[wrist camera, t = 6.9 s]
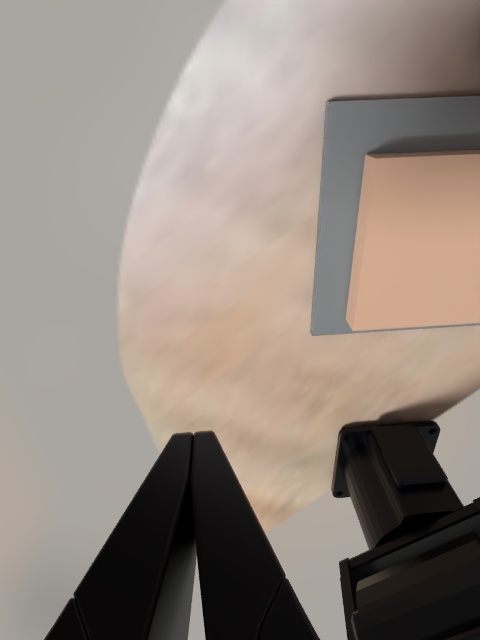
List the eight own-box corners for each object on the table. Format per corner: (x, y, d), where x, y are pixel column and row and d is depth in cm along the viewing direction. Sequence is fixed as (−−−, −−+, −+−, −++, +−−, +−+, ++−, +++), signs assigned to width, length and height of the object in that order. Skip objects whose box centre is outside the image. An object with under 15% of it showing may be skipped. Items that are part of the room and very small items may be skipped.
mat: (487, 320, 22) (492, 324, 21) (310, 332, 21) (312, 335, 21) (562, 92, 16) (570, 92, 16) (326, 101, 16) (328, 101, 16)
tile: (344, 317, 21) (473, 309, 21) (352, 331, 19) (489, 322, 20) (364, 153, 17) (523, 146, 17) (375, 158, 15) (546, 150, 16)
